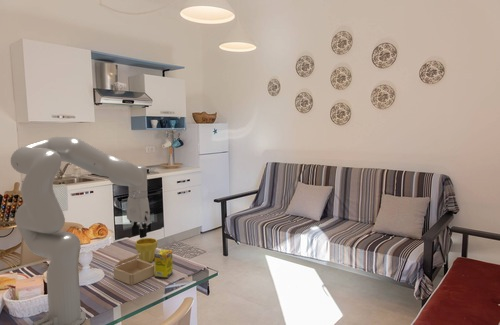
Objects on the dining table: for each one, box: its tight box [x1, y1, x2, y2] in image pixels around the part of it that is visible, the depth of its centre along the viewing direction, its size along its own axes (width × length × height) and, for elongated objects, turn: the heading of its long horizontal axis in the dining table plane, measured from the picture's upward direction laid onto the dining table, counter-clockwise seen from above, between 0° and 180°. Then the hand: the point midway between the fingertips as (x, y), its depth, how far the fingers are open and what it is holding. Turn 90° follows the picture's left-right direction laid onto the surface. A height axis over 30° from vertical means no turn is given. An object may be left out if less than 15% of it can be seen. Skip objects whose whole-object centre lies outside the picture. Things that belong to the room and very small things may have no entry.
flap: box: [114, 253, 141, 267], centre depth 155 cm, size 11×6×1 cm
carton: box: [113, 258, 155, 286], centre depth 153 cm, size 13×13×5 cm
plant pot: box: [134, 237, 158, 263], centre depth 171 cm, size 10×10×10 cm
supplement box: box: [154, 249, 174, 280], centre depth 154 cm, size 6×6×11 cm
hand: (139, 235), depth 149 cm, fingers open, 4 cm apart
